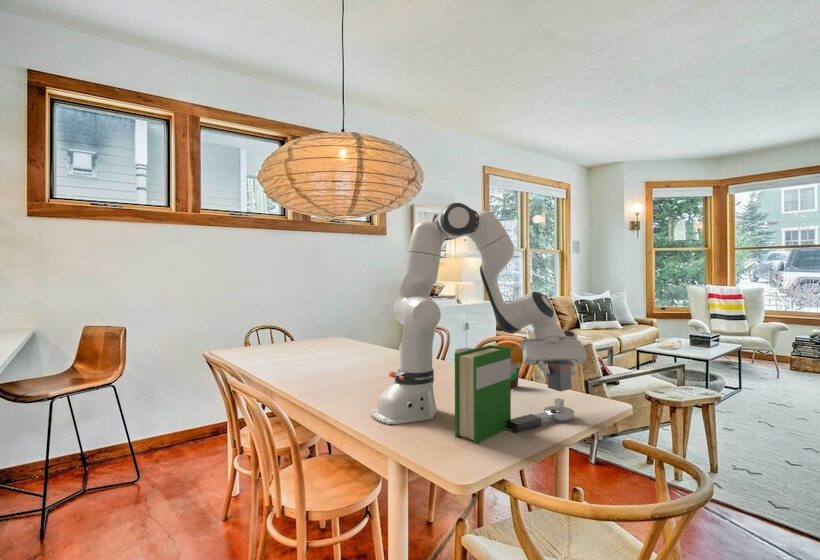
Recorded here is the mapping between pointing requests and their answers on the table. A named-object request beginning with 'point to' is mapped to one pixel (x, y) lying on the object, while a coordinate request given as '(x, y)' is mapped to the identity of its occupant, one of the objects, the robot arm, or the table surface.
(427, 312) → the robot arm
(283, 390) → the table surface
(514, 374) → the food container
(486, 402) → the hardback book
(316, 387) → the table surface
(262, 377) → the table surface
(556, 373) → the dark grey block
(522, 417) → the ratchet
